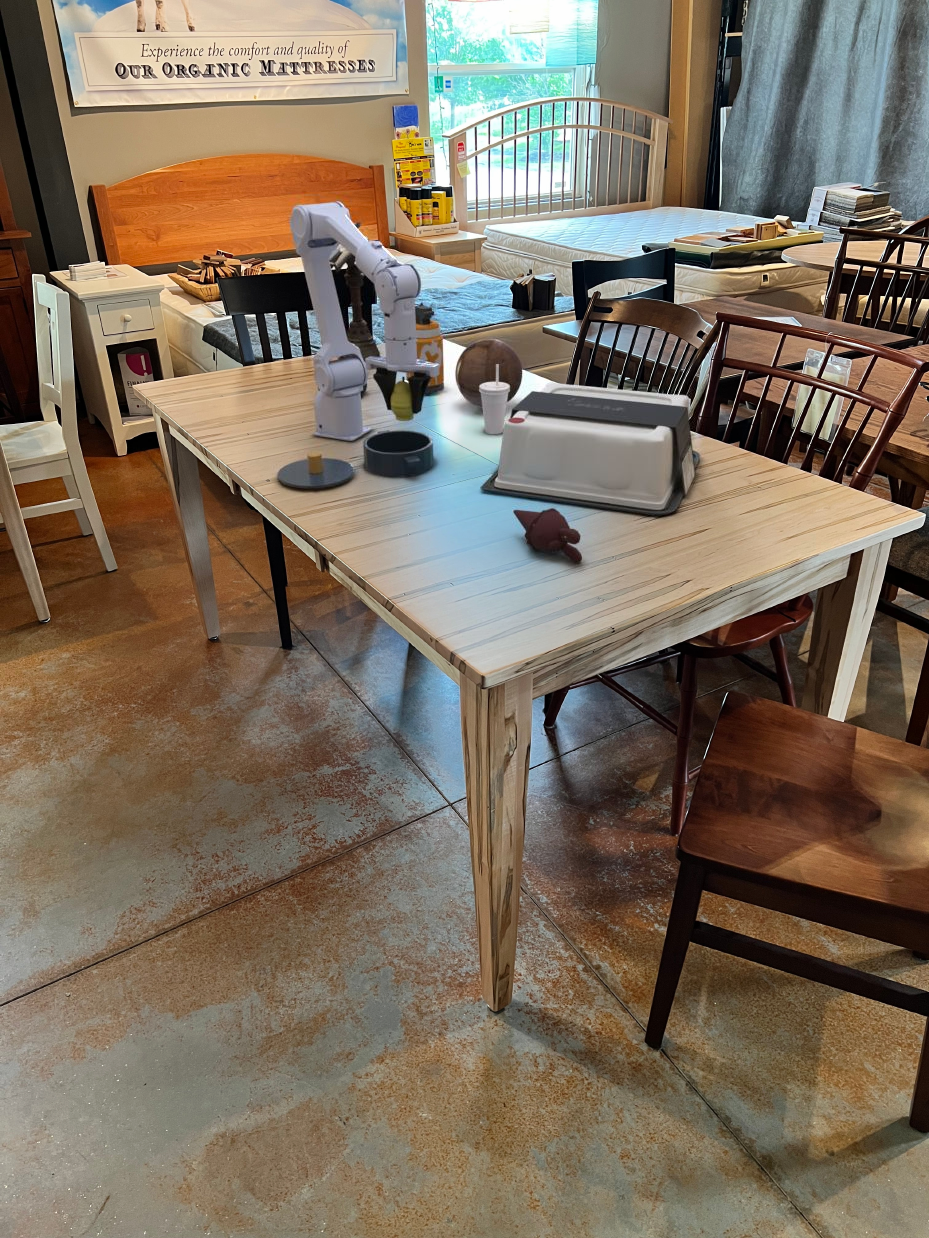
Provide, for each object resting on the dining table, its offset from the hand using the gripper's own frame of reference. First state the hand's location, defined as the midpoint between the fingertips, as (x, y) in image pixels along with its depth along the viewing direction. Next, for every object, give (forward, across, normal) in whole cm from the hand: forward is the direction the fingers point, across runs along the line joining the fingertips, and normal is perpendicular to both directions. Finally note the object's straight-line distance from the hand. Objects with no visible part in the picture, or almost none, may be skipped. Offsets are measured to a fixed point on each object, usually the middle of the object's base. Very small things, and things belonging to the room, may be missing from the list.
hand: (404, 410), depth 164 cm
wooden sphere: (+10, +1, +37) cm, 39 cm away
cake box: (+10, +36, +8) cm, 38 cm away
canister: (+10, -19, +44) cm, 49 cm away
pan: (+10, 0, -3) cm, 10 cm away
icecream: (+10, +39, -26) cm, 48 cm away
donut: (+10, -35, +33) cm, 49 cm away
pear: (+2, 0, 0) cm, 2 cm away
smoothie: (+10, +9, +22) cm, 26 cm away
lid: (+9, -11, -15) cm, 21 cm away
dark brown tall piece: (+10, -47, +57) cm, 74 cm away
